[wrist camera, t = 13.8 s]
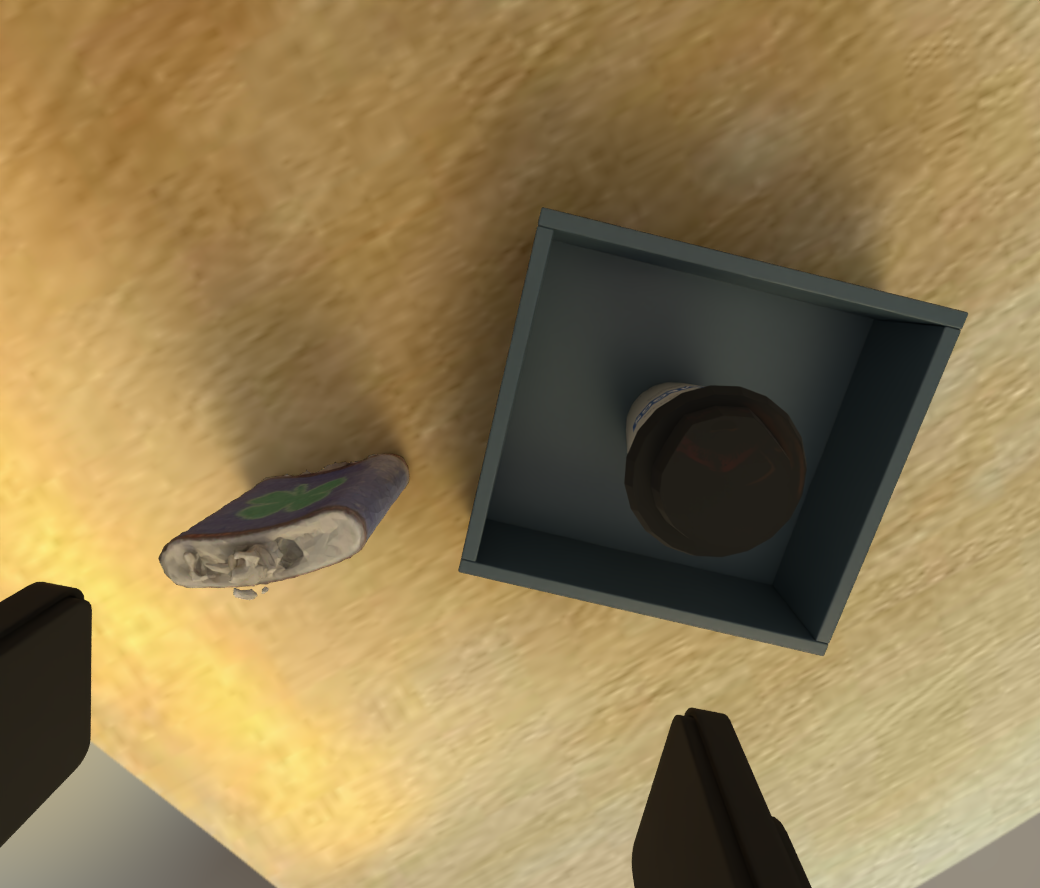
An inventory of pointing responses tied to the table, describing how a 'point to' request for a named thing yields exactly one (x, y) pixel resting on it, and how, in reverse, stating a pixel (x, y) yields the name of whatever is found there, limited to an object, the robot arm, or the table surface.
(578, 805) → the table surface
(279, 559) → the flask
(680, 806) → the robot arm
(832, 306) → the tub
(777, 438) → the coffee cup
